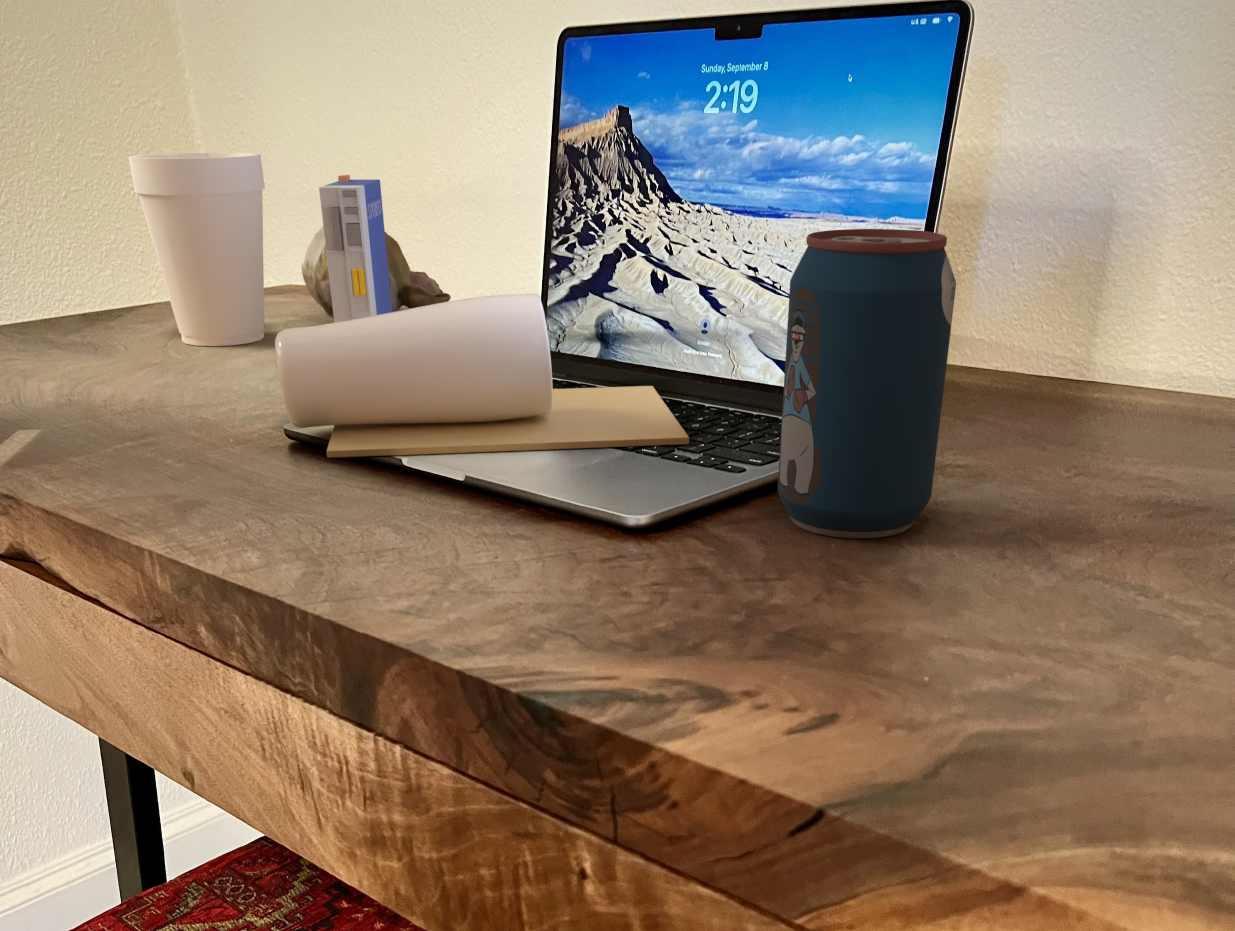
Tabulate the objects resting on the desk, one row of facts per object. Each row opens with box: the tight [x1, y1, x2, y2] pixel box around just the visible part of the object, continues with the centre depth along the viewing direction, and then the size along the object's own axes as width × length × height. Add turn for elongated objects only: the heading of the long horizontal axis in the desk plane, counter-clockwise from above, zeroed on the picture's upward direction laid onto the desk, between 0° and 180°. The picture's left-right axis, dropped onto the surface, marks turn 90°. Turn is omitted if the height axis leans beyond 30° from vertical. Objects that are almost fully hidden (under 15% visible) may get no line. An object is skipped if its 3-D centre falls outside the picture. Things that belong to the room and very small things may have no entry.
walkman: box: [318, 174, 392, 323], centre depth 90 cm, size 8×3×12 cm, turn 179°
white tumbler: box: [274, 292, 554, 429], centre depth 72 cm, size 7×7×15 cm
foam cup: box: [128, 151, 266, 347], centre depth 98 cm, size 10×9×13 cm
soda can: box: [777, 228, 957, 539], centre depth 55 cm, size 7×7×12 cm
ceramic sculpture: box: [301, 226, 452, 319], centre depth 107 cm, size 11×9×15 cm
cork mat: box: [326, 385, 690, 459], centre depth 76 cm, size 20×14×1 cm
